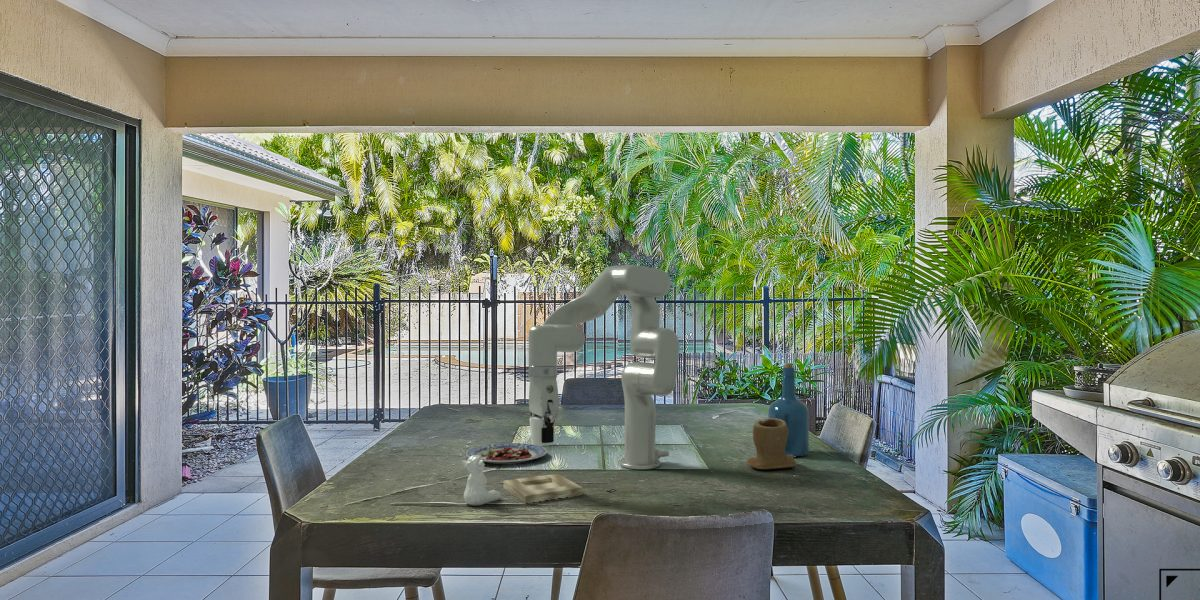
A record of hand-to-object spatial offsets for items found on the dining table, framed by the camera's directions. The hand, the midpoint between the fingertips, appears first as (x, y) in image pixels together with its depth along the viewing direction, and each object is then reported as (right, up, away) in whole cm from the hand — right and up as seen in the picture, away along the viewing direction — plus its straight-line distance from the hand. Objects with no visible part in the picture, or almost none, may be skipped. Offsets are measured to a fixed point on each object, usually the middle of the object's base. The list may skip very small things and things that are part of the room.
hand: (542, 439), depth 180 cm
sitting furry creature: (-15, -14, -9) cm, 23 cm away
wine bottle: (+78, -14, +46) cm, 91 cm away
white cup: (0, -1, 0) cm, 1 cm away
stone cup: (+68, -14, +26) cm, 74 cm away
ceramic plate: (-15, -14, +39) cm, 44 cm away
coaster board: (0, -14, 0) cm, 14 cm away
